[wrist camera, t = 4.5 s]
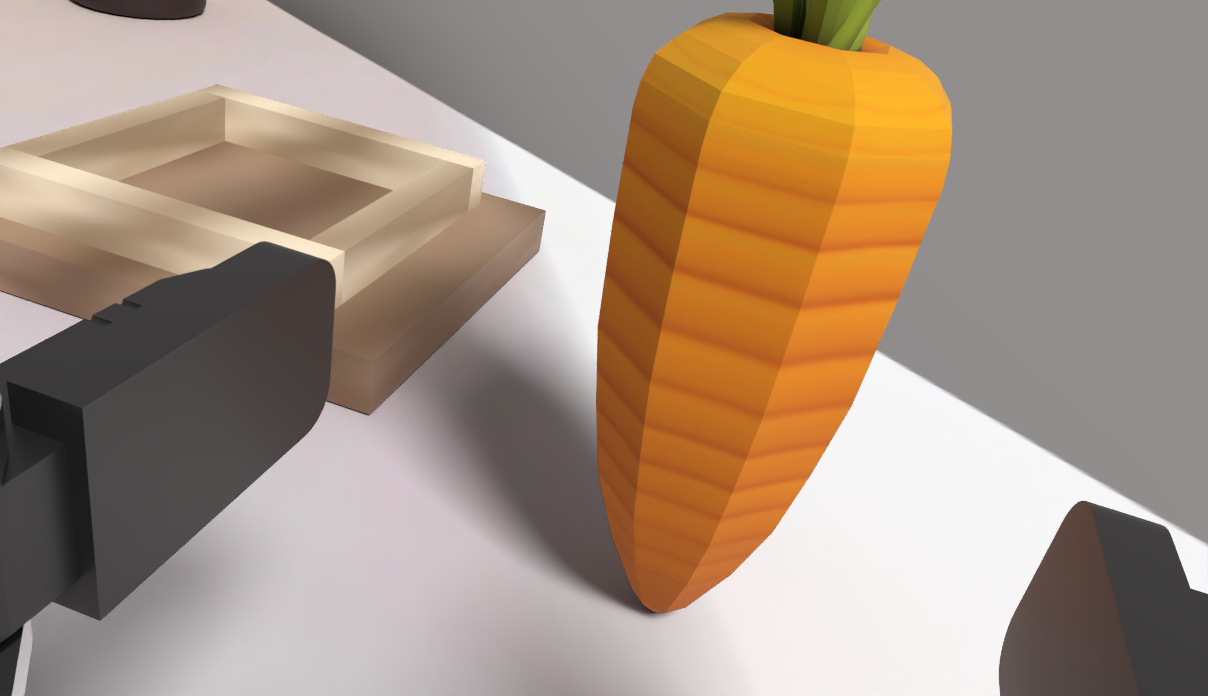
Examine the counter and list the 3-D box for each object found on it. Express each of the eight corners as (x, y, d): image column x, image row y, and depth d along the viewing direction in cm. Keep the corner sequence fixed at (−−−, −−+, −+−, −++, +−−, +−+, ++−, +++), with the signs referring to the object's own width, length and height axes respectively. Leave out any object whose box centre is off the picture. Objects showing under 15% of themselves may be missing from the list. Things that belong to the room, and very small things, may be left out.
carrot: (683, 757, 17) (1029, -271, 9) (481, 594, 19) (634, -321, 12) (821, 620, 20) (1146, -199, 13) (636, 497, 23) (824, -247, 16)
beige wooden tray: (-108, 253, 26) (-127, 145, 24) (187, 146, 36) (186, 65, 35) (369, 414, 24) (378, 305, 22) (539, 251, 34) (553, 168, 32)
